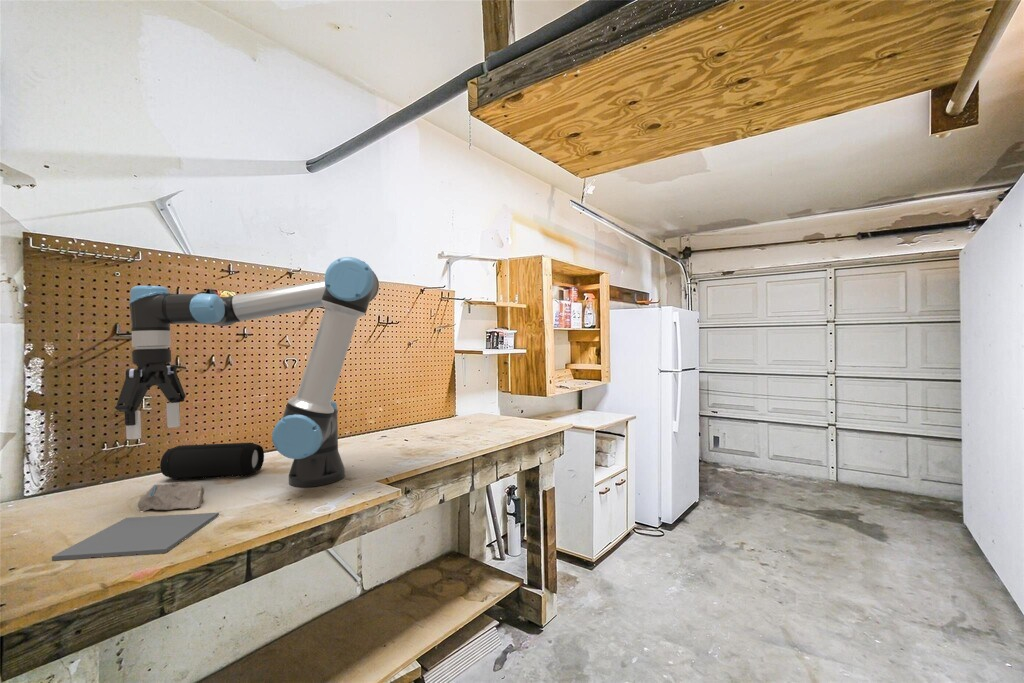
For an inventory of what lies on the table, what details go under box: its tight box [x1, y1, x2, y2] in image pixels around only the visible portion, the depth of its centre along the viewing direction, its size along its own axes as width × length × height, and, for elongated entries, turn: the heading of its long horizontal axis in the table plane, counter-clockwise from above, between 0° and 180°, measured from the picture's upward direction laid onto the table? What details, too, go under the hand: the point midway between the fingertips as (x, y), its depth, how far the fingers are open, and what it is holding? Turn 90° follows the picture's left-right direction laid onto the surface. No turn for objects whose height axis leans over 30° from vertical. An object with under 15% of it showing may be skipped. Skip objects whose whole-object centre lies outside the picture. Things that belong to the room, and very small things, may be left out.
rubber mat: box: [51, 512, 220, 562], centre depth 92 cm, size 20×18×1 cm
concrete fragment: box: [137, 481, 205, 512], centre depth 108 cm, size 7×14×6 cm, turn 90°
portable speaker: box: [160, 442, 265, 480], centre depth 132 cm, size 26×10×10 cm, turn 96°
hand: (155, 432), depth 109 cm, fingers open, 13 cm apart
